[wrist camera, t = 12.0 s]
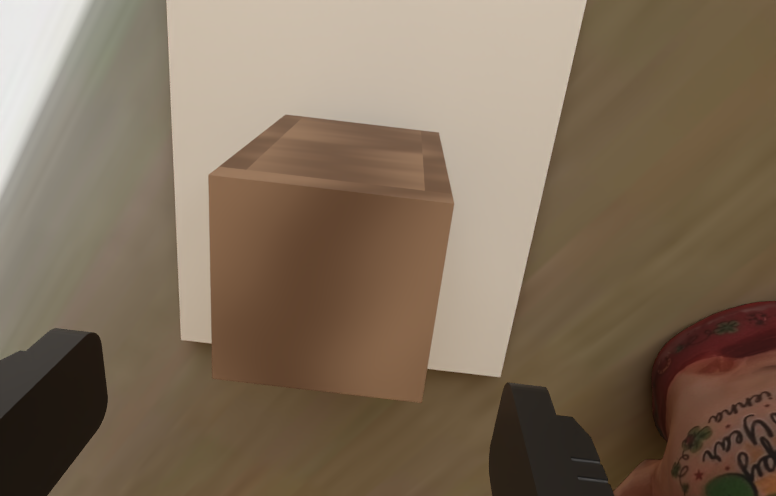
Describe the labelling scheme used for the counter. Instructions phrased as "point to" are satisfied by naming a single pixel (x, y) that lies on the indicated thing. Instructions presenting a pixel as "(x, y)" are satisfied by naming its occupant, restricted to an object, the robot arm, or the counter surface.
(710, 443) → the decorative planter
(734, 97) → the counter surface
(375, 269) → the brown wooden block
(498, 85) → the post board
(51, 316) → the counter surface
